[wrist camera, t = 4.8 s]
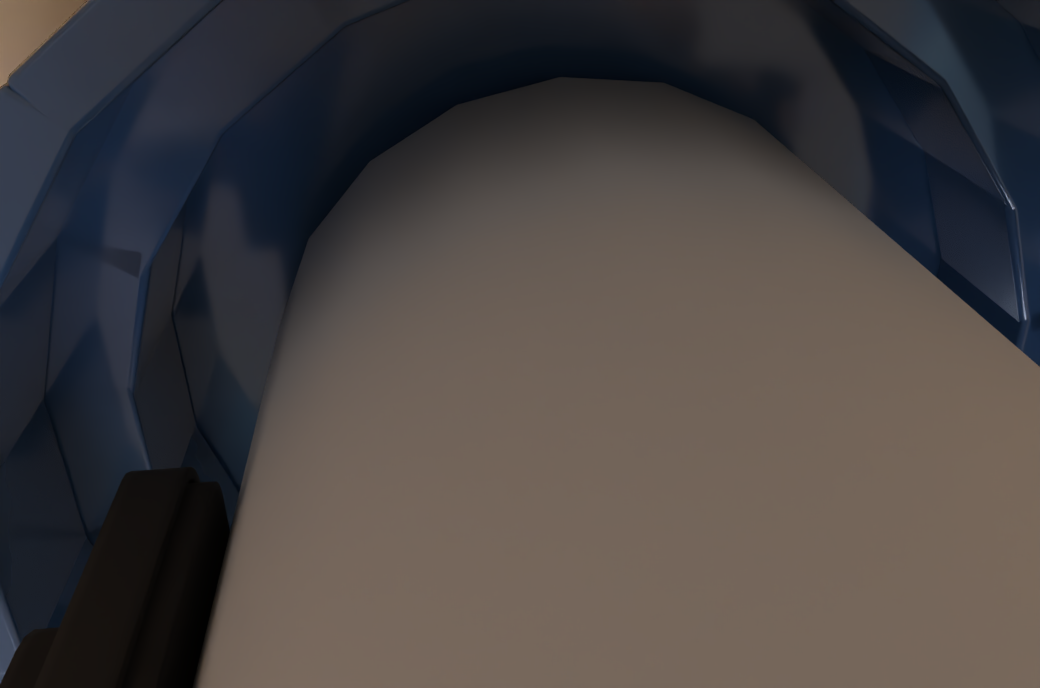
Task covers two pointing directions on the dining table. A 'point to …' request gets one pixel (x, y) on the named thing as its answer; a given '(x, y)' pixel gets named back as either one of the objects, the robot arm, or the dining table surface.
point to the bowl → (367, 134)
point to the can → (626, 427)
